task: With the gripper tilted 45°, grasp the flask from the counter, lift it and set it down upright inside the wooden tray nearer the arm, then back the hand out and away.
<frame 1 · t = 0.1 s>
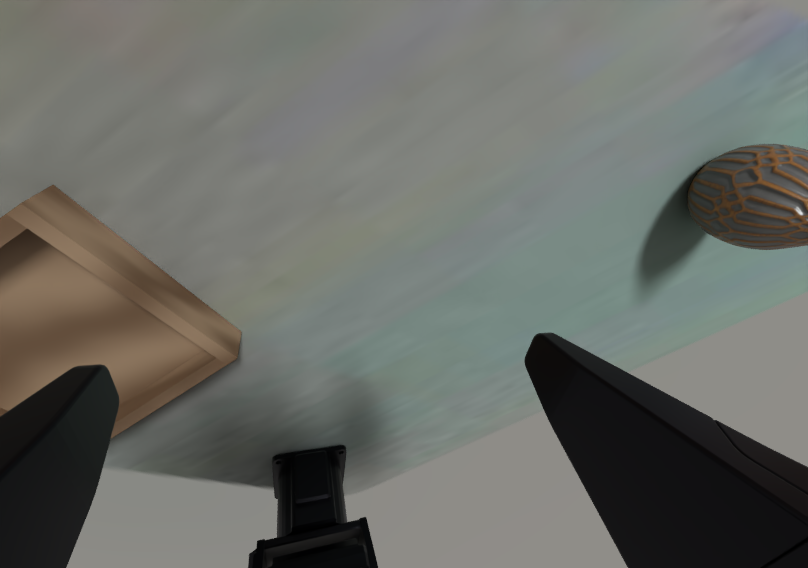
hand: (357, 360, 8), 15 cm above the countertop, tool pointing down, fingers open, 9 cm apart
vase: (707, 181, 28), on the countertop
wooden tray: (69, 335, 21), on the countertop
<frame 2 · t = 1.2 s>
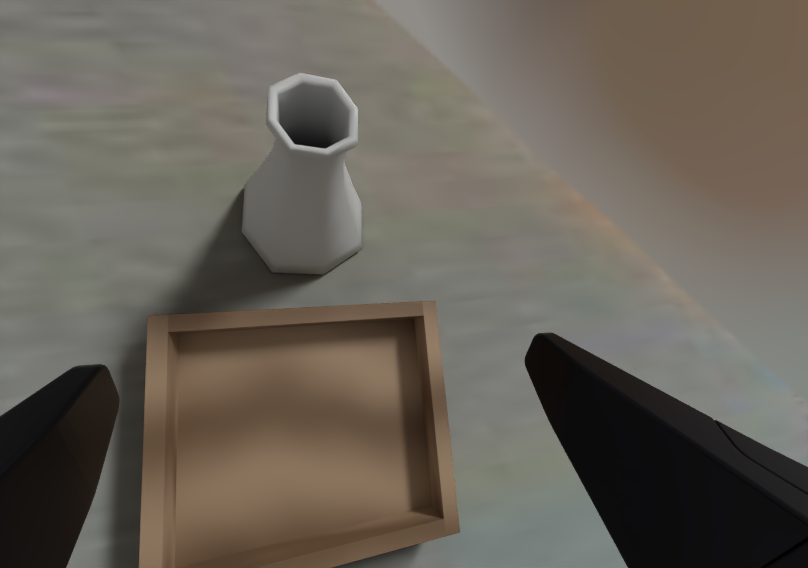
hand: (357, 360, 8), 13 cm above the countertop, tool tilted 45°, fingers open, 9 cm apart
flask: (304, 220, 22), on the countertop
wooden tray: (311, 421, 19), on the countertop
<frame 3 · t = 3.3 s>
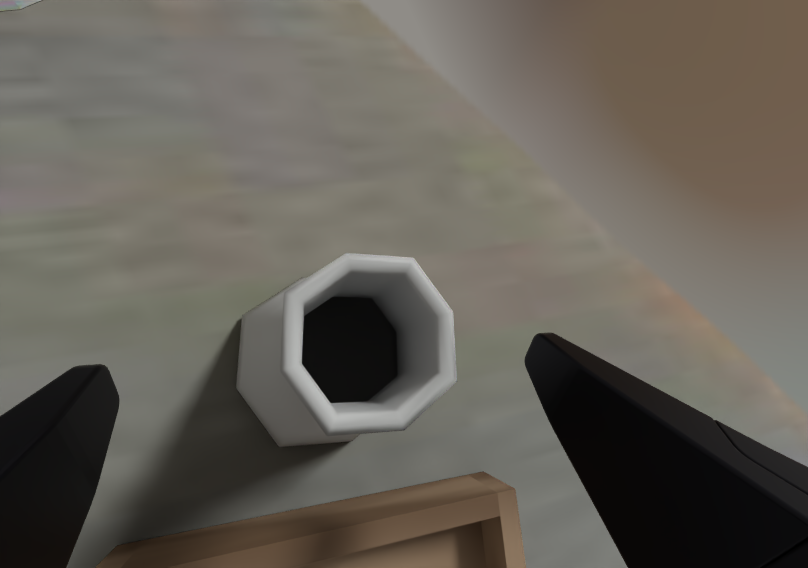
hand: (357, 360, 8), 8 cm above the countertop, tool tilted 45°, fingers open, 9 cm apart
flask: (325, 357, 16), on the countertop
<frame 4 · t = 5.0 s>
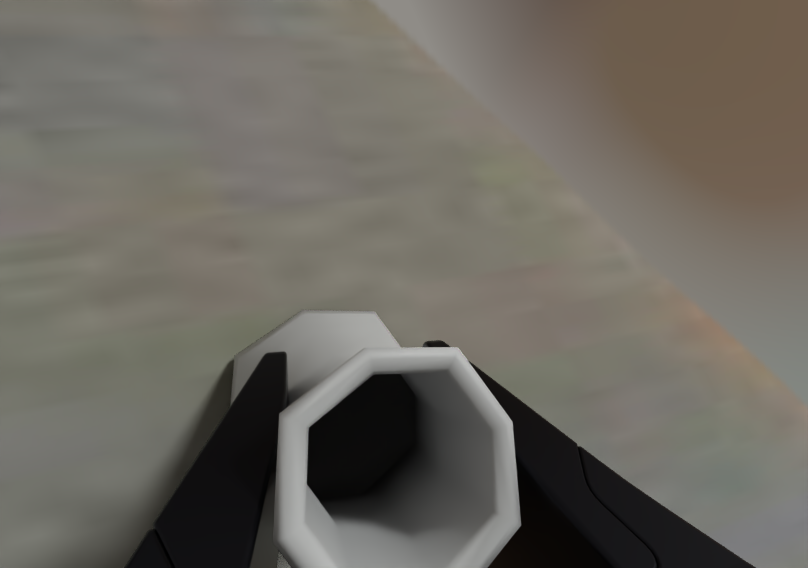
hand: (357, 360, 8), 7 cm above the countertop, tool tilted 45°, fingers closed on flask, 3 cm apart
flask: (329, 399, 14), on the countertop, touching gripper
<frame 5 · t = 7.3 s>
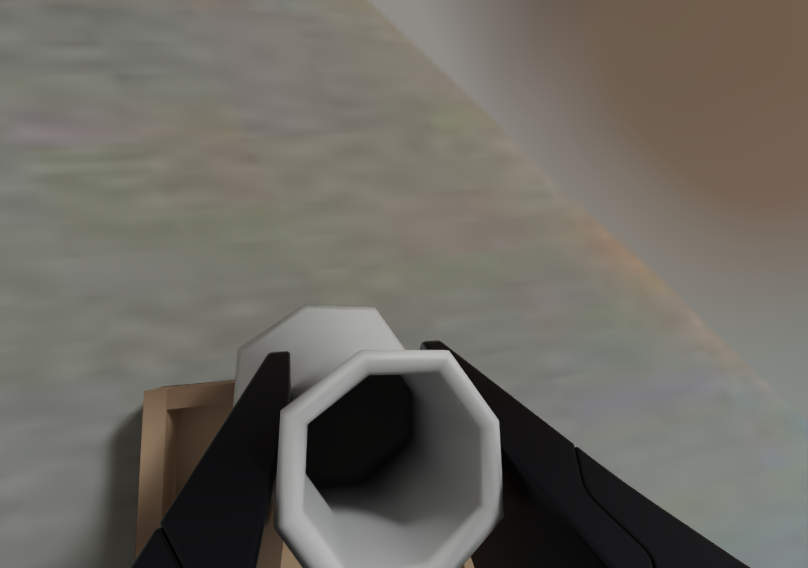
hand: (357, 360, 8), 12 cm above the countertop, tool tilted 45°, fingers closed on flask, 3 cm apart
flask: (329, 392, 14), point 5 cm above the countertop, touching gripper
wooden tray: (322, 496, 18), on the countertop
when the fingers open (9 cm above the countertop, at t = 9.4 s): flask stays where it is, resting on wooden tray.
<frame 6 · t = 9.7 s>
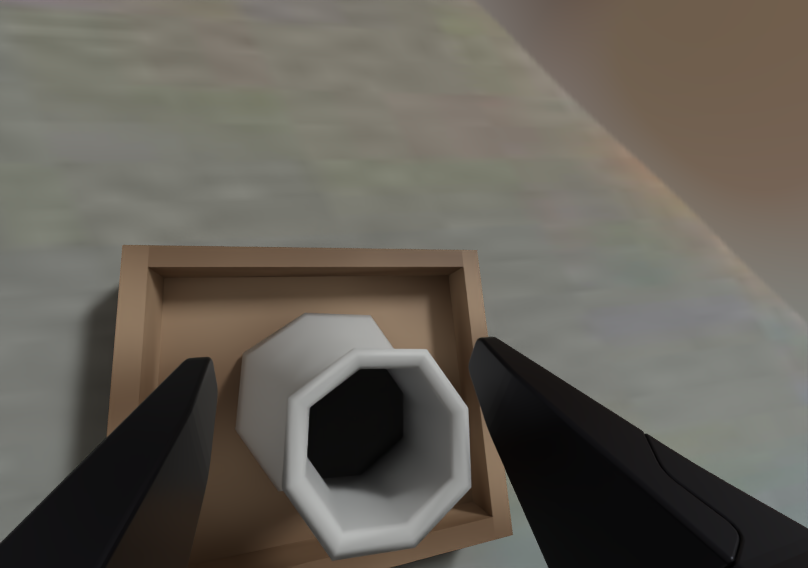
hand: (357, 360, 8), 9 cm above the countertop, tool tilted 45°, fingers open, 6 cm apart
flask: (327, 394, 15), point 1 cm above the countertop, touching wooden tray
wooden tray: (325, 394, 16), on the countertop
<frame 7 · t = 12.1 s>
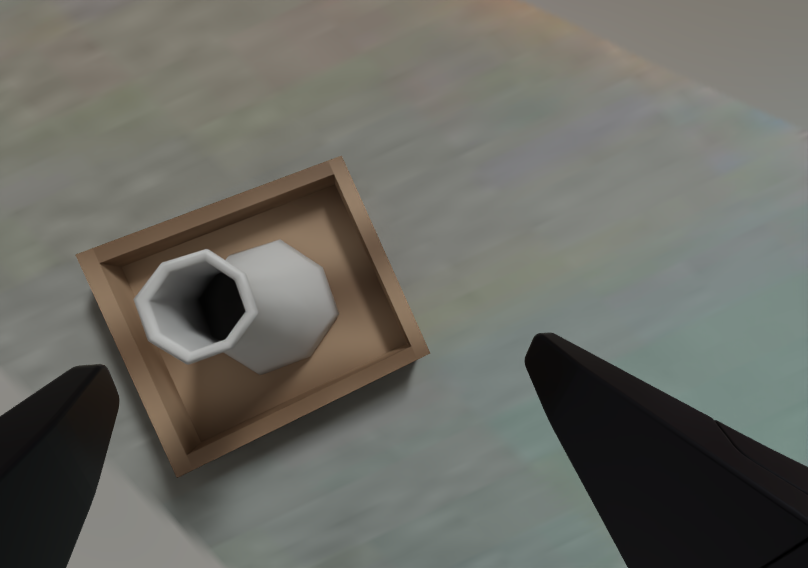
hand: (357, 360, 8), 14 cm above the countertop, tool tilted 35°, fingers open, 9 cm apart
flask: (272, 306, 20), point 1 cm above the countertop, touching wooden tray
wooden tray: (274, 306, 21), on the countertop
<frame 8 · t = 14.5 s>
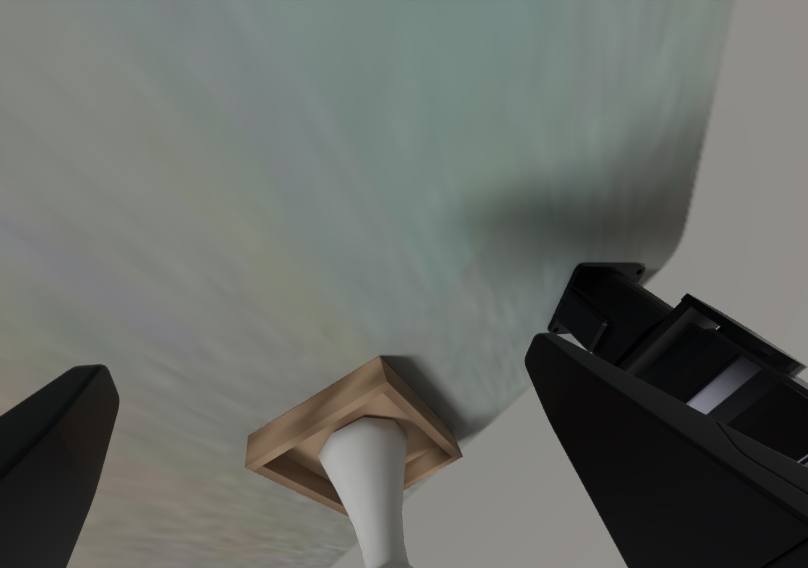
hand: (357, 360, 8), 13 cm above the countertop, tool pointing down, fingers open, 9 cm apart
flask: (363, 440, 30), point 1 cm above the countertop, touching wooden tray
wooden tray: (362, 434, 31), on the countertop
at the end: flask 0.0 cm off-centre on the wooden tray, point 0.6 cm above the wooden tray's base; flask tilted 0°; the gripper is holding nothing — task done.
